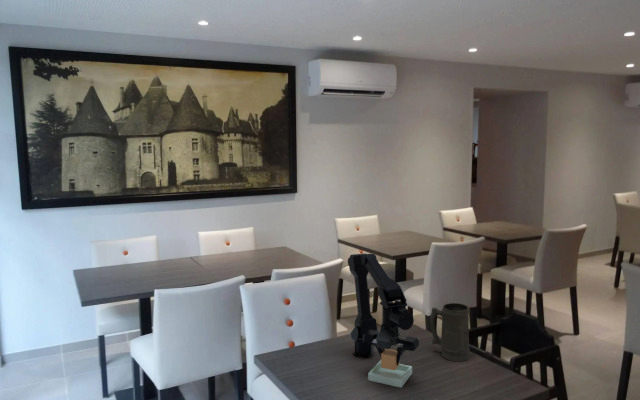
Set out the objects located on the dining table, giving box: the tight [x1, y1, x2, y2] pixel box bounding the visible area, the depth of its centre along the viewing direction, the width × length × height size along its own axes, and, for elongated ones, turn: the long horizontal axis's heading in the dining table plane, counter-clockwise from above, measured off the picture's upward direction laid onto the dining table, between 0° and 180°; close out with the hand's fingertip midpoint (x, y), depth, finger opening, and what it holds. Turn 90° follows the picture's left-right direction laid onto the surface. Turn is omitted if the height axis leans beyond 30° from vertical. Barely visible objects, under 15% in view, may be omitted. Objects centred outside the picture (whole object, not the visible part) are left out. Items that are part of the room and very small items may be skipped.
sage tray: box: [367, 359, 413, 389], centre depth 168 cm, size 12×12×2 cm
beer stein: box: [428, 302, 471, 362], centre depth 185 cm, size 15×11×20 cm
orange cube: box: [380, 348, 401, 370], centre depth 168 cm, size 5×5×5 cm
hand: (390, 363), depth 168 cm, fingers closed on orange cube, 5 cm apart
